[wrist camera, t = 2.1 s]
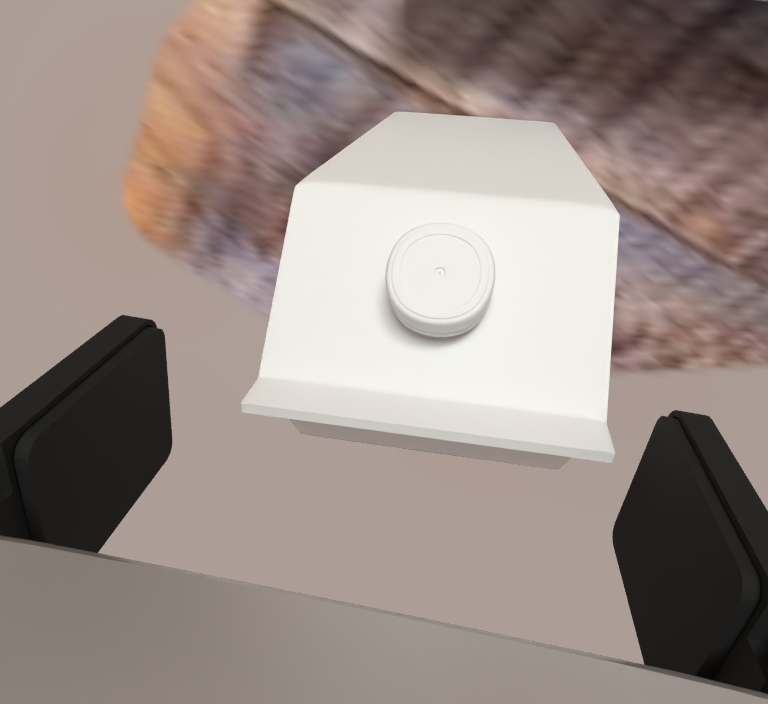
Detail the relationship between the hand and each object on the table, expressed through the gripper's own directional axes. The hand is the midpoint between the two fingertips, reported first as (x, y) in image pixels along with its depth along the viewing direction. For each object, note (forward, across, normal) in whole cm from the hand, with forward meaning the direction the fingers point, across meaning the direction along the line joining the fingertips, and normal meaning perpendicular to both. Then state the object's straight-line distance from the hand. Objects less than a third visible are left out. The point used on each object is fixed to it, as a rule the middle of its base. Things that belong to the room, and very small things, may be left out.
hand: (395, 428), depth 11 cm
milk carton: (+19, -1, 0) cm, 19 cm away
